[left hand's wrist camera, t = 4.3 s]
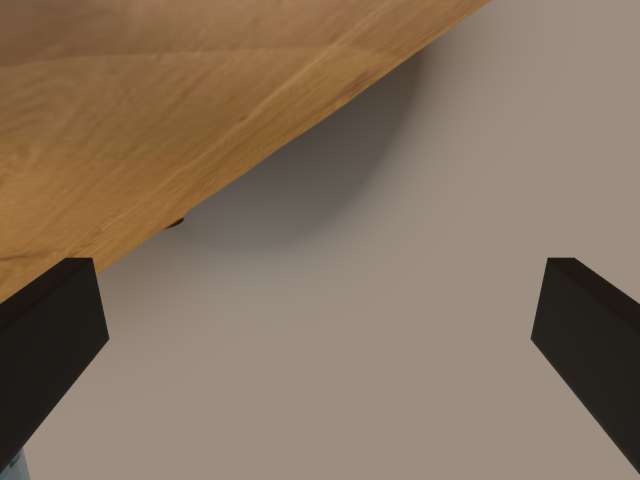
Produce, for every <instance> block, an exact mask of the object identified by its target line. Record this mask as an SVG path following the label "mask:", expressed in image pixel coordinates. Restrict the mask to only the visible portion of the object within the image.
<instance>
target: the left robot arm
mask: <svg viewBox="0 0 640 480" xmlns="http://www.w3.org/2000/svg"><path fill="white" fill-rule="evenodd" d="M108 340H109V335H108V330H107V326H106V321H105V316H104V311H103V306H102V302H101V297H100V292H99V287H98V283H97V278H96V273H95V268H94V264H93V259H92V258H65V259H63V260H62V261H60V262H59V263H58V264H56V265H55V266H53V267H52V268H50V269H49V270H48V271H46V272H45V273H43V274H42V275H41V276H39V277H38V278H36V279H35V280H34V281H32V282H31V283H29V284H28V285H26V286H25V287H24V288H22V289H21V290H19V291H18V292H17V293H15V294H14V295H12V296H11V297H10V298H8V299H7V300H5V301H4V302H3V303H1V304H0V480H30V476H29V472H28V468H27V464H26V460H25V455H24V451H23V446H24V444H26V442H27V441H28V439H29V438H30V437H31V436H32V434H33V433H34V432H35V431H36V429H37V428H38V427H39V426H40V424H41V423H42V422H43V421H44V420H45V418H46V417H47V416H48V415H49V413H50V412H51V411H52V410H53V408H54V407H55V406H56V405H57V403H58V402H59V401H60V400H61V398H62V397H63V396H64V395H65V393H66V392H67V391H68V390H69V388H70V387H71V386H72V385H73V384H74V382H75V381H76V380H77V379H78V377H79V376H80V375H81V374H82V372H83V371H84V370H85V369H86V367H87V366H88V365H89V364H90V362H91V361H92V360H93V359H94V357H95V356H96V355H97V354H98V352H99V351H100V350H101V349H102V347H103V346H104V345H105V344H106V343H107V341H108ZM531 340H532V341H533V343H534V344H535V345H536V346H537V347H538V349H539V350H540V351H541V352H542V354H543V355H544V356H545V357H546V359H547V360H548V361H549V362H550V364H551V365H552V366H553V367H554V369H555V370H556V371H557V372H558V374H559V375H560V376H561V377H562V379H563V380H564V381H565V382H566V383H567V385H568V386H569V387H570V388H571V390H572V391H573V392H574V393H575V395H576V396H577V397H578V398H579V400H580V401H581V402H582V403H583V405H584V406H585V407H586V408H587V409H588V411H589V412H590V413H591V414H592V416H593V417H594V418H595V420H596V421H597V422H598V423H599V424H600V426H601V427H602V428H603V429H604V431H605V432H606V433H607V434H608V436H609V437H610V438H611V439H612V441H613V442H614V443H615V444H616V446H617V447H618V448H619V449H620V451H621V452H622V453H623V454H624V455H625V457H626V458H627V459H628V461H629V462H630V463H631V464H632V465H633V467H634V468H635V469H636V470H637V472H638V473H639V474H640V304H639V303H637V302H636V301H635V300H633V299H632V298H630V297H629V296H628V295H626V294H625V293H623V292H622V291H621V290H619V289H618V288H616V287H615V286H614V285H612V284H611V283H609V282H608V281H606V280H605V279H604V278H602V277H601V276H599V275H598V274H597V273H595V272H594V271H592V270H591V269H590V268H588V267H587V266H585V265H584V264H582V263H581V262H580V261H578V260H577V259H575V258H548V259H547V264H546V268H545V273H544V278H543V283H542V287H541V292H540V297H539V302H538V306H537V311H536V316H535V321H534V325H533V330H532V335H531Z"/></svg>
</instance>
